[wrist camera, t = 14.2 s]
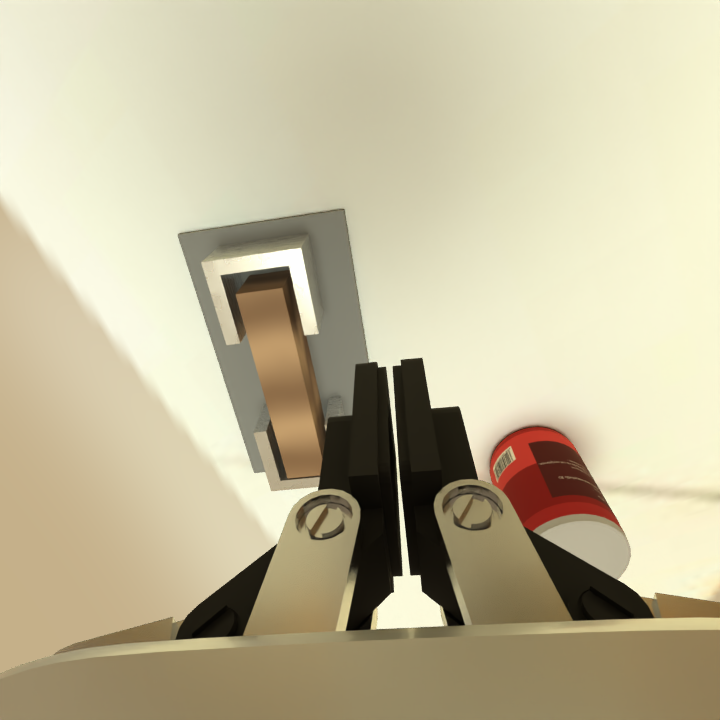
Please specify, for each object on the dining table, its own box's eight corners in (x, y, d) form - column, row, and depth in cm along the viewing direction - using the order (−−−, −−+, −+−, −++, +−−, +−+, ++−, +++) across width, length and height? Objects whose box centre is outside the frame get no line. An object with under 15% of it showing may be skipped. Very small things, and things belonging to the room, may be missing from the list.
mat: (179, 233, 35) (177, 235, 35) (344, 208, 34) (343, 210, 34) (255, 470, 45) (254, 472, 45) (383, 457, 44) (383, 460, 44)
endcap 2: (352, 452, 43) (349, 483, 40) (279, 459, 44) (271, 491, 40) (340, 395, 41) (337, 423, 37) (263, 404, 41) (253, 432, 38)
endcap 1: (218, 246, 35) (200, 262, 31) (308, 233, 34) (300, 248, 31) (240, 322, 38) (226, 345, 34) (324, 311, 37) (318, 333, 34)
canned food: (494, 500, 46) (525, 607, 36) (480, 433, 42) (511, 532, 33) (577, 485, 45) (633, 591, 35) (571, 415, 41) (631, 512, 32)
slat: (249, 275, 36) (235, 294, 32) (291, 269, 36) (282, 288, 32) (294, 447, 43) (287, 478, 40) (330, 444, 43) (326, 474, 39)
